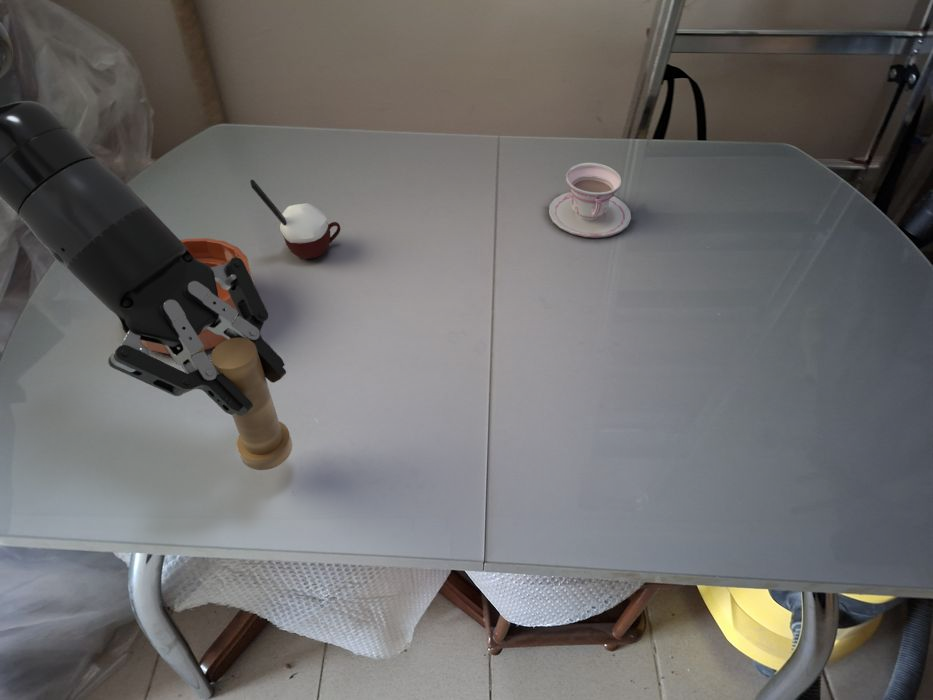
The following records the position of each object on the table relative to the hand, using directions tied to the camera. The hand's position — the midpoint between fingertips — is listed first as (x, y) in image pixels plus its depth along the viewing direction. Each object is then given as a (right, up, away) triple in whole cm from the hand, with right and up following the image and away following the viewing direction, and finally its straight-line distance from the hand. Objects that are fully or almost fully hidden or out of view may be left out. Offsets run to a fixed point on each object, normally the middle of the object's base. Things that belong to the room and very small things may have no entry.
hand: (263, 393), depth 55 cm
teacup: (+35, +23, +42) cm, 59 cm away
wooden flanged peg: (-2, -6, +7) cm, 9 cm away
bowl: (-16, +8, +26) cm, 32 cm away
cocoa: (-5, +17, +35) cm, 39 cm away
